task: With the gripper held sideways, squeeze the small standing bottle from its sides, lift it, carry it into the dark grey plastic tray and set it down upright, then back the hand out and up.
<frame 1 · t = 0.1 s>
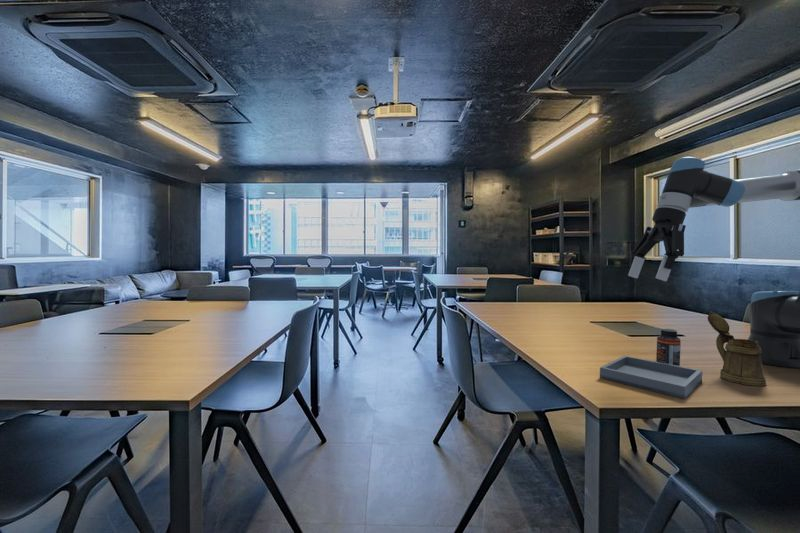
hand: (645, 278, 106), 28 cm above the table, tool tilted 20°, fingers open, 13 cm apart
supplement bottle: (667, 366, 111), on the table
wooden mug: (733, 378, 100), on the table
grey tray: (650, 379, 98), on the table
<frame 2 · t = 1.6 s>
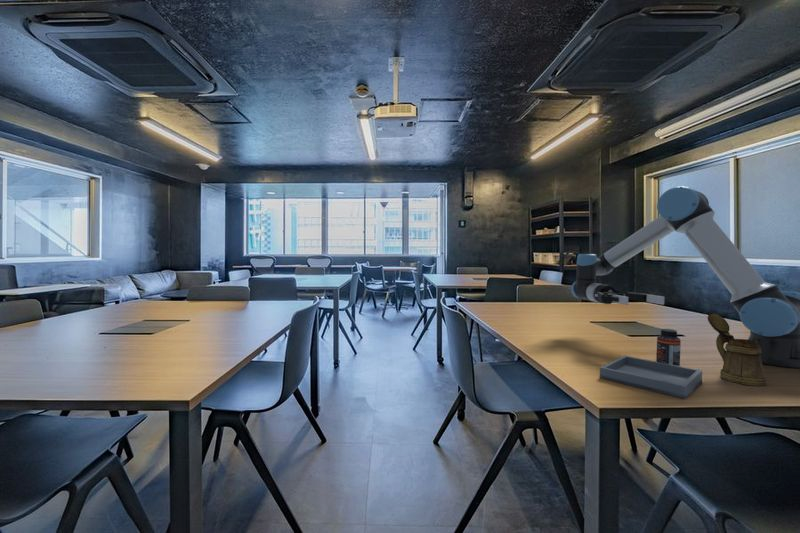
hand: (645, 300, 120), 19 cm above the table, tool horizontal, fingers open, 13 cm apart
nothing on the table moved.
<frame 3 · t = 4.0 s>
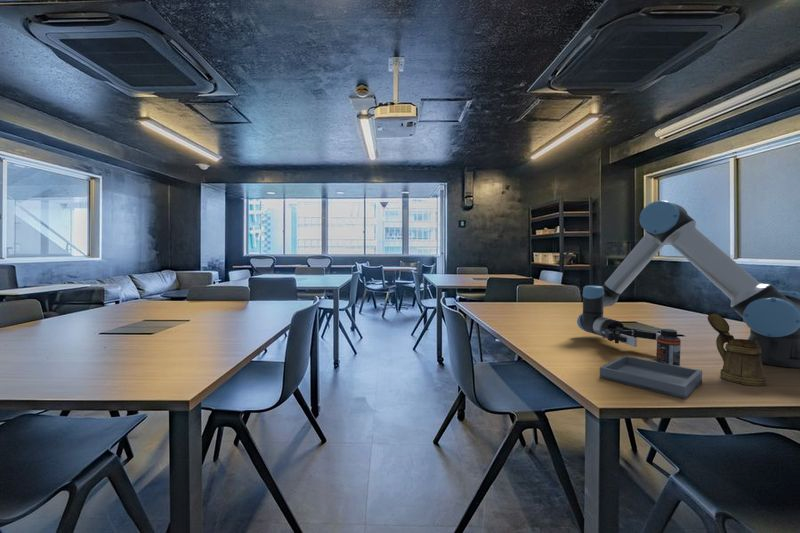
hand: (654, 342, 116), 6 cm above the table, tool horizontal, fingers open, 13 cm apart
nothing on the table moved.
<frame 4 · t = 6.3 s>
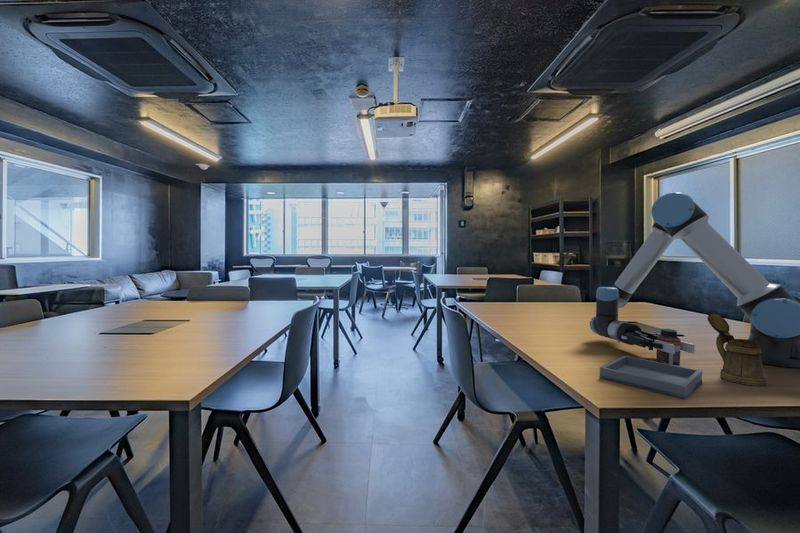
hand: (683, 349, 106), 7 cm above the table, tool horizontal, fingers closed on supplement bottle, 6 cm apart
supplement bottle: (667, 366, 111), on the table, touching gripper
everything else where it was.
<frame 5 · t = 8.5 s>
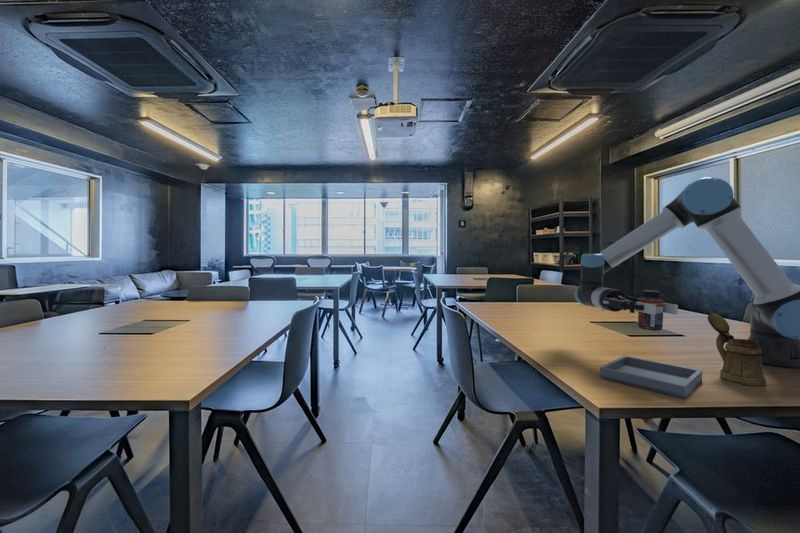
hand: (665, 309, 99), 19 cm above the table, tool horizontal, fingers closed on supplement bottle, 6 cm apart
supplement bottle: (649, 329, 104), point 13 cm above the table, touching gripper
everything else where it was.
when the fingers open (9 cm above the table, at t = 11.1 s): supplement bottle drops 2 cm, resting on grey tray.
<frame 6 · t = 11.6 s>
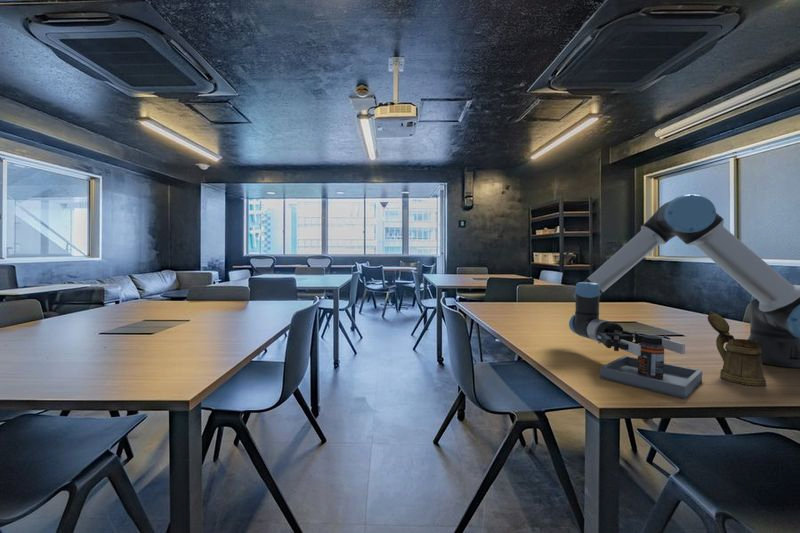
hand: (661, 349, 95), 9 cm above the table, tool horizontal, fingers open, 12 cm apart
supplement bottle: (650, 377, 98), point 1 cm above the table, touching grey tray
everything else where it was.
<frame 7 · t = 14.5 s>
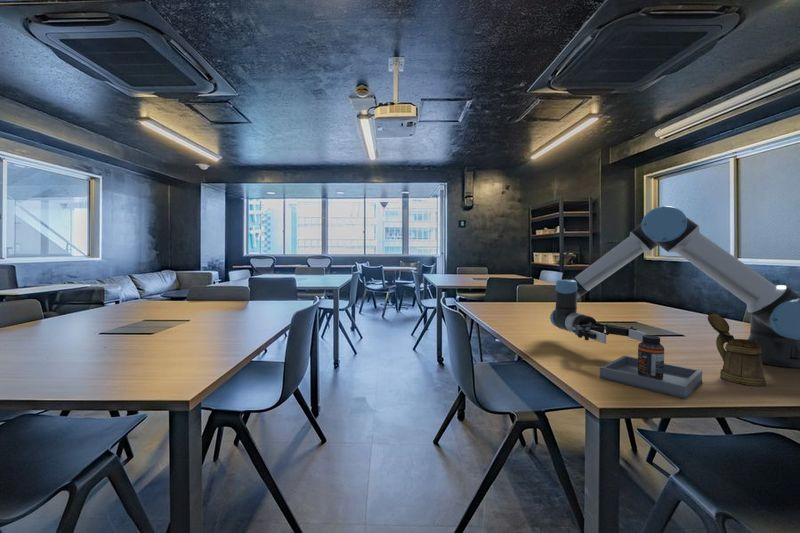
hand: (625, 338, 107), 9 cm above the table, tool horizontal, fingers open, 13 cm apart
nothing on the table moved.
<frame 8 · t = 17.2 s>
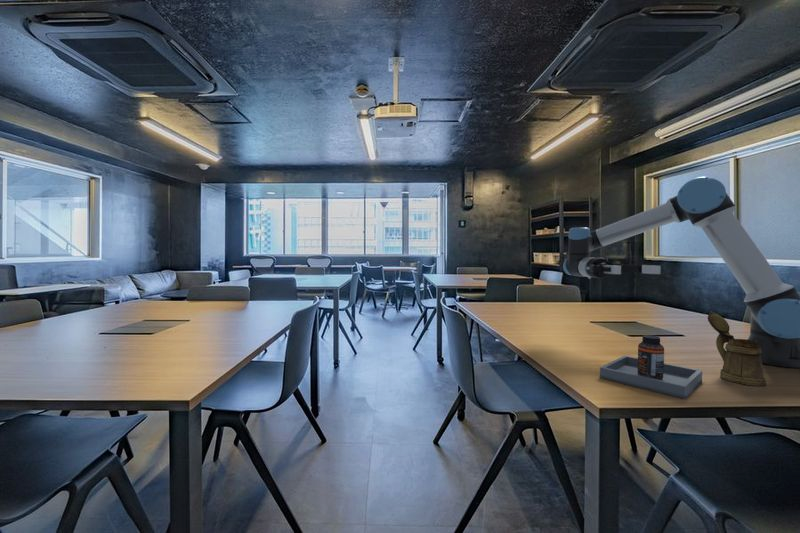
hand: (639, 269, 111), 30 cm above the table, tool horizontal, fingers open, 13 cm apart
nothing on the table moved.
at the end: supplement bottle inside the target area on the grey tray (0.1 cm from its centre), point 0.6 cm above the grey tray's base; supplement bottle tilted 0°; the gripper is holding nothing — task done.
